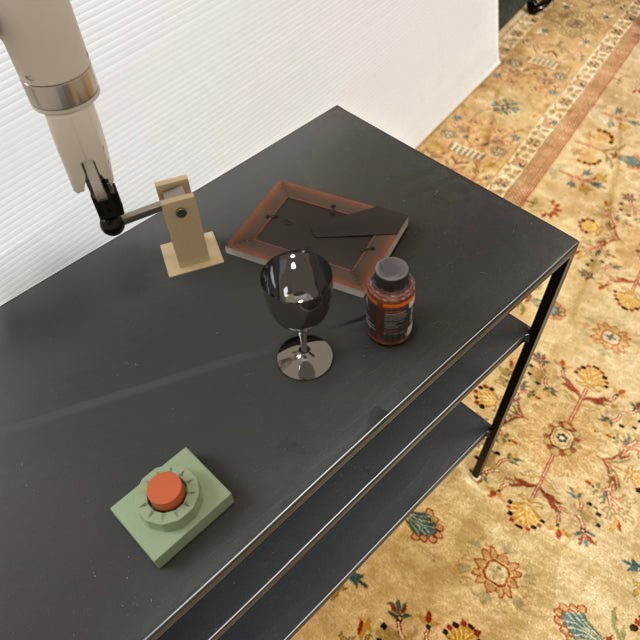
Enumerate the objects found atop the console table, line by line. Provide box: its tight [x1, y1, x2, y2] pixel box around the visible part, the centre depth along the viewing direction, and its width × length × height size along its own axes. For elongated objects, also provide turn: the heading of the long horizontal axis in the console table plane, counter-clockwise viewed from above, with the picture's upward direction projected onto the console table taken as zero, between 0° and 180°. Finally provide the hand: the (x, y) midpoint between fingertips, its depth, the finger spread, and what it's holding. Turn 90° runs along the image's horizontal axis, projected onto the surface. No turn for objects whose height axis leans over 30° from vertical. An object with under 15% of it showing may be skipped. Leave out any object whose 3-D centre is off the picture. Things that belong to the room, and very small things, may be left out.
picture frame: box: [224, 179, 409, 299], centre depth 94 cm, size 16×2×22 cm
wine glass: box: [259, 250, 334, 381], centre depth 76 cm, size 8×8×15 cm
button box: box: [110, 446, 235, 570], centre depth 68 cm, size 10×8×4 cm
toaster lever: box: [99, 185, 186, 237], centre depth 85 cm, size 12×3×3 cm, turn 110°
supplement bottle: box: [365, 256, 417, 346], centre depth 80 cm, size 6×6×11 cm
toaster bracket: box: [153, 174, 225, 279], centre depth 89 cm, size 8×7×13 cm
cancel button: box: [146, 472, 185, 511], centre depth 66 cm, size 4×4×2 cm
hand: (112, 213), depth 84 cm, fingers closed
